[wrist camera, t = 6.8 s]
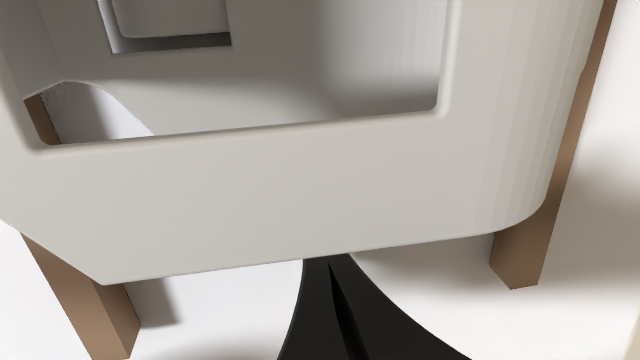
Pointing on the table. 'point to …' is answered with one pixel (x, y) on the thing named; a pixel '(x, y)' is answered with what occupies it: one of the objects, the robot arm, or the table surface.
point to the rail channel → (506, 260)
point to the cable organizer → (287, 127)
